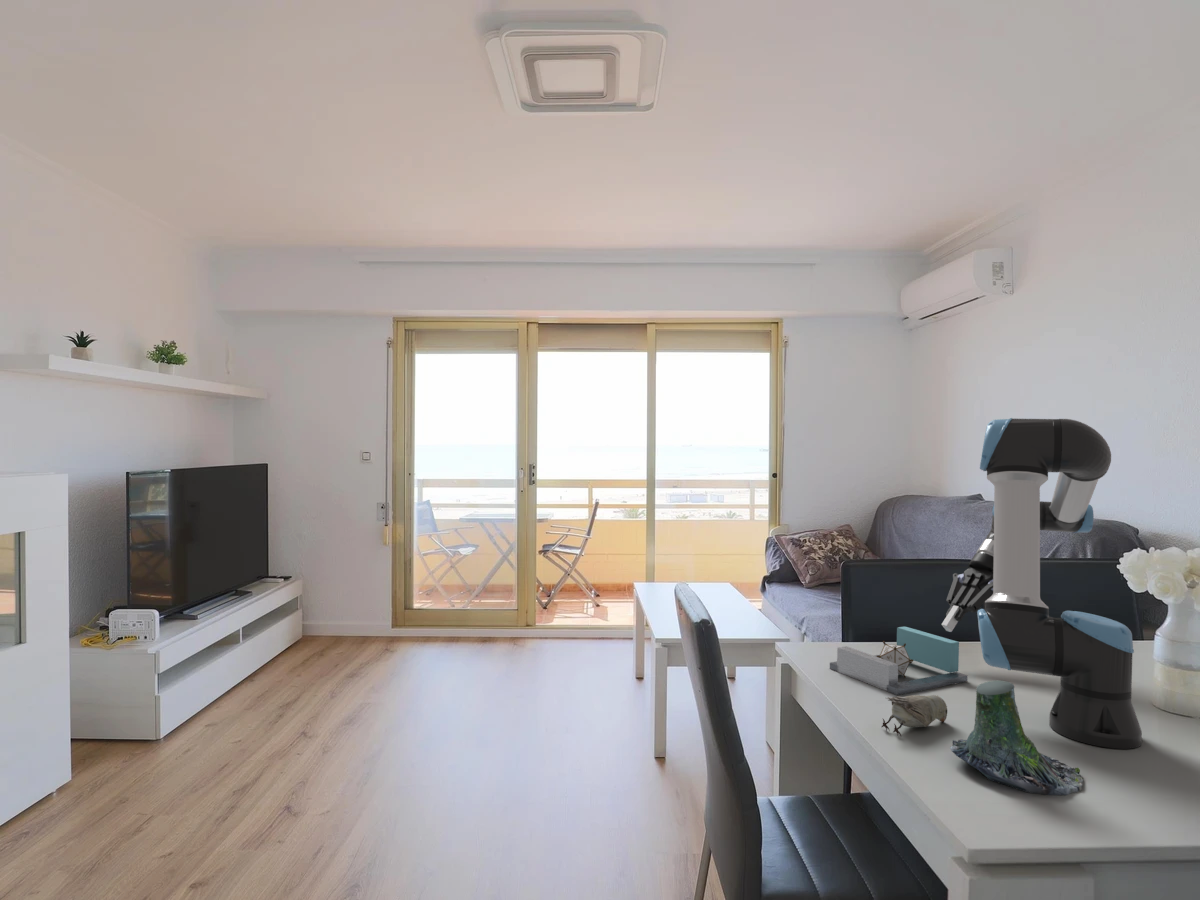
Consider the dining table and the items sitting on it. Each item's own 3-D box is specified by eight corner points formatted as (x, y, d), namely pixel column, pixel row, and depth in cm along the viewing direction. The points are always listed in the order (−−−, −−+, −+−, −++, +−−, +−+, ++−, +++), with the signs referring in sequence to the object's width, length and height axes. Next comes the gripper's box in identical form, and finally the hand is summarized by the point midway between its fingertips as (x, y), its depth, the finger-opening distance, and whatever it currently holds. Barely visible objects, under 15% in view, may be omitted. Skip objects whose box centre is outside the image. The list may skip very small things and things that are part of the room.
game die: (897, 693, 173) (899, 668, 167) (867, 672, 179) (868, 647, 174) (919, 671, 177) (922, 645, 171) (889, 651, 183) (891, 626, 177)
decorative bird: (955, 727, 143) (956, 690, 143) (898, 740, 136) (899, 702, 136) (932, 718, 148) (933, 682, 148) (876, 730, 141) (877, 693, 141)
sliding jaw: (958, 671, 174) (959, 641, 174) (950, 672, 172) (950, 643, 172) (904, 653, 188) (905, 626, 188) (896, 654, 187) (897, 627, 187)
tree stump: (1114, 804, 113) (1091, 697, 113) (986, 826, 115) (963, 720, 115) (1051, 750, 132) (1031, 657, 131) (942, 769, 134) (922, 678, 133)
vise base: (967, 681, 171) (967, 656, 171) (897, 695, 161) (897, 669, 161) (896, 657, 190) (897, 635, 190) (829, 668, 180) (830, 644, 180)
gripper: (1018, 573, 187) (975, 643, 180) (973, 565, 199) (931, 631, 192) (1006, 555, 185) (962, 625, 177) (961, 547, 196) (918, 613, 189)
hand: (946, 628), depth 184 cm, fingers closed
